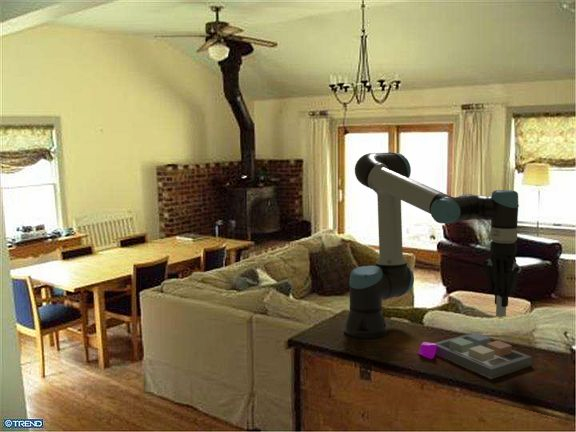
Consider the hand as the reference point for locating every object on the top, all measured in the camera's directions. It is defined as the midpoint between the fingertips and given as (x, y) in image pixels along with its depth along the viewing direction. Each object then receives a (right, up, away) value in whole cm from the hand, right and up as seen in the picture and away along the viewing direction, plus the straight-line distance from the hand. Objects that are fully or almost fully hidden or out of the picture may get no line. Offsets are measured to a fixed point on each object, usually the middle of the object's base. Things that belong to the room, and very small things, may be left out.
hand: (500, 315), depth 168 cm
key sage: (-11, -11, +5) cm, 16 cm away
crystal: (-21, -14, +7) cm, 26 cm away
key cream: (-7, -12, -2) cm, 14 cm away
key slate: (-4, -11, +9) cm, 14 cm away
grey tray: (-5, -14, +3) cm, 16 cm away
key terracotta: (0, -12, +2) cm, 12 cm away
